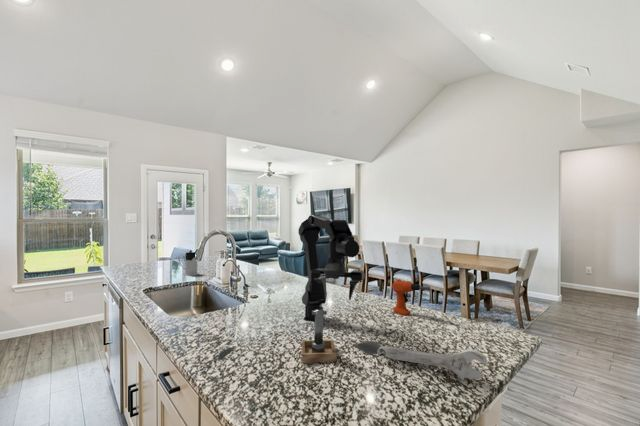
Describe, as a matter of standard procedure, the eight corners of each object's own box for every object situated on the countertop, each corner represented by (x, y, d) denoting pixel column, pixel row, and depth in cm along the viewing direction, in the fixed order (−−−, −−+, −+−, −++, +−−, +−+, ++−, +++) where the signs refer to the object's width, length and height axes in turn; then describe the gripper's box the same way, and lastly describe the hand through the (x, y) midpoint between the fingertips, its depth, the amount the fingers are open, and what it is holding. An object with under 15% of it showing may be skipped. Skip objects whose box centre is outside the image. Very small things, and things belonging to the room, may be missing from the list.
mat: (353, 347, 101) (353, 345, 101) (371, 341, 105) (371, 340, 105) (370, 356, 94) (370, 355, 94) (388, 350, 99) (388, 349, 99)
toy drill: (430, 319, 124) (426, 281, 125) (391, 314, 138) (388, 279, 139) (436, 317, 127) (432, 280, 129) (397, 311, 141) (394, 278, 143)
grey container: (193, 276, 211) (193, 254, 211) (174, 275, 214) (174, 253, 214) (200, 273, 220) (200, 252, 220) (182, 272, 222) (182, 251, 222)
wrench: (380, 363, 96) (489, 383, 79) (378, 366, 95) (488, 386, 78) (378, 337, 97) (486, 350, 80) (375, 339, 95) (485, 353, 78)
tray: (302, 363, 89) (302, 354, 89) (301, 348, 99) (301, 340, 99) (336, 362, 90) (336, 353, 90) (332, 347, 100) (332, 339, 100)
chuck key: (311, 355, 93) (312, 311, 93) (310, 349, 97) (312, 308, 97) (325, 355, 93) (327, 312, 93) (324, 349, 97) (326, 308, 97)
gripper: (304, 256, 106) (304, 302, 106) (358, 258, 100) (358, 306, 100) (315, 253, 117) (315, 294, 116) (364, 254, 111) (364, 298, 110)
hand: (337, 298), depth 110 cm, fingers open, 9 cm apart
